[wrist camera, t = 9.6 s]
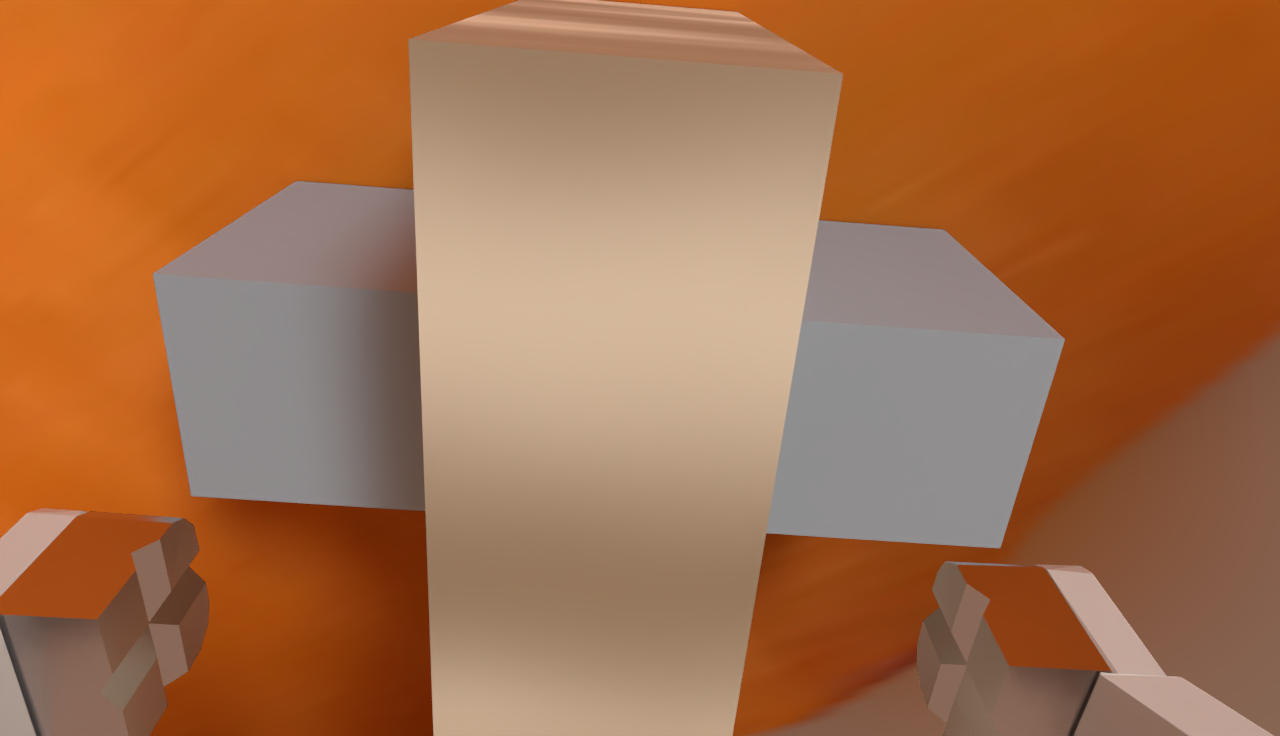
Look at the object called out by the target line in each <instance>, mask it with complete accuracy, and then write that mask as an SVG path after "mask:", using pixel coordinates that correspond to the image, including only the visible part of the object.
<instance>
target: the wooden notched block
mask: <svg viewBox="0 0 1280 736" xmlns="http://www.w3.org/2000/svg"><path fill="white" fill-rule="evenodd" d="M408 41H409V69H410V96H411V124H412V152H413V180H414V208H415V235H416V263H417V291H418V319H419V347H420V374H421V402H422V430H423V458H424V486H425V514H426V541H427V569H428V597H429V625H430V653H431V680H432V708H433V736H732V734H733V728H734V722H735V716H736V710H737V704H738V698H739V692H740V687H741V681H742V675H743V669H744V663H745V657H746V651H747V645H748V639H749V633H750V627H751V621H752V615H753V609H754V603H755V597H756V591H757V585H758V579H759V573H760V567H761V561H762V555H763V549H764V543H765V537H766V531H767V526H768V520H769V514H770V508H771V502H772V496H773V490H774V484H775V478H776V472H777V466H778V460H779V454H780V448H781V442H782V436H783V430H784V424H785V418H786V412H787V406H788V400H789V394H790V388H791V382H792V376H793V371H794V365H795V359H796V353H797V347H798V341H799V335H800V329H801V323H802V317H803V311H804V305H805V299H806V293H807V287H808V281H809V275H810V269H811V263H812V257H813V251H814V245H815V239H816V233H817V227H818V221H819V216H820V210H821V204H822V198H823V192H824V186H825V180H826V174H827V168H828V162H829V156H830V150H831V144H832V138H833V132H834V126H835V120H836V114H837V108H838V102H839V96H840V90H841V84H842V78H843V74H842V73H840V72H839V71H837V70H835V69H834V68H832V67H830V66H828V65H827V64H825V63H823V62H822V61H820V60H818V59H817V58H815V57H813V56H811V55H810V54H808V53H806V52H805V51H803V50H801V49H800V48H798V47H796V46H794V45H793V44H791V43H789V42H788V41H786V40H784V39H782V38H781V37H779V36H777V35H776V34H774V33H772V32H771V31H769V30H767V29H765V28H764V27H762V26H760V25H759V24H757V23H755V22H754V21H752V20H750V19H748V18H747V17H745V16H743V15H742V14H740V13H738V12H732V11H720V10H708V9H696V8H683V7H671V6H659V5H647V4H635V3H623V2H610V1H598V0H518V1H515V2H513V3H510V4H507V5H504V6H501V7H498V8H496V9H493V10H490V11H487V12H484V13H481V14H479V15H476V16H473V17H470V18H467V19H464V20H462V21H459V22H456V23H453V24H450V25H447V26H445V27H442V28H439V29H436V30H433V31H430V32H428V33H425V34H422V35H419V36H416V37H413V38H410V39H408Z"/></svg>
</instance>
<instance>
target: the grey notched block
mask: <svg viewBox="0 0 1280 736" xmlns="http://www.w3.org/2000/svg"><path fill="white" fill-rule="evenodd" d="M153 278H154V284H155V289H156V295H157V301H158V307H159V313H160V318H161V324H162V330H163V336H164V341H165V347H166V353H167V359H168V365H169V370H170V376H171V382H172V388H173V394H174V399H175V405H176V411H177V417H178V423H179V428H180V434H181V440H182V446H183V451H184V457H185V463H186V469H187V475H188V480H189V486H190V492H191V496H197V497H212V498H228V499H243V500H259V501H274V502H290V503H305V504H321V505H336V506H352V507H367V508H383V509H398V510H414V511H425V486H424V458H423V430H422V402H421V374H420V347H419V319H418V291H417V263H416V235H415V208H414V190H409V189H396V188H383V187H370V186H356V185H343V184H330V183H317V182H303V181H295V182H294V183H292V184H291V185H289V186H288V187H286V188H285V189H283V190H282V191H280V192H278V193H277V194H275V195H274V196H272V197H271V198H269V199H268V200H266V201H265V202H263V203H261V204H260V205H258V206H257V207H255V208H254V209H252V210H251V211H249V212H248V213H246V214H244V215H243V216H241V217H240V218H238V219H237V220H235V221H234V222H232V223H231V224H229V225H227V226H226V227H224V228H223V229H221V230H220V231H218V232H217V233H215V234H214V235H212V236H210V237H209V238H207V239H206V240H204V241H203V242H201V243H200V244H198V245H197V246H195V247H193V248H192V249H190V250H189V251H187V252H186V253H184V254H183V255H181V256H180V257H178V258H176V259H175V260H173V261H172V262H170V263H169V264H167V265H166V266H164V267H163V268H161V269H159V270H158V271H156V272H155V273H153ZM1064 341H1065V339H1064V338H1063V337H1062V336H1061V335H1060V334H1059V333H1057V332H1056V331H1055V330H1054V329H1053V328H1052V327H1051V326H1050V325H1049V324H1048V323H1046V322H1045V321H1044V320H1043V319H1042V318H1041V317H1040V316H1039V315H1038V314H1036V313H1035V312H1034V311H1033V310H1032V309H1031V308H1030V307H1029V306H1028V305H1027V304H1025V303H1024V302H1023V301H1022V300H1021V299H1020V298H1019V297H1018V296H1017V295H1016V294H1014V293H1013V292H1012V291H1011V290H1010V289H1009V288H1008V287H1007V286H1006V285H1005V284H1003V283H1002V282H1001V281H1000V280H999V279H998V278H997V277H996V276H995V275H993V274H992V273H991V272H990V271H989V270H988V269H987V268H986V267H985V266H984V265H982V264H981V263H980V262H979V261H978V260H977V259H976V258H975V257H974V256H973V255H971V254H970V253H969V252H968V251H967V250H966V249H965V248H964V247H963V246H961V245H960V244H959V243H958V242H957V241H956V240H955V239H954V238H953V237H952V236H950V235H949V234H948V233H947V232H946V231H945V230H940V229H927V228H914V227H901V226H887V225H874V224H861V223H847V222H834V221H821V220H819V221H818V227H817V233H816V239H815V245H814V251H813V257H812V263H811V269H810V275H809V281H808V287H807V293H806V299H805V305H804V311H803V317H802V323H801V329H800V335H799V341H798V347H797V353H796V359H795V365H794V371H793V376H792V382H791V388H790V394H789V400H788V406H787V412H786V418H785V424H784V430H783V436H782V442H781V448H780V454H779V460H778V466H777V472H776V478H775V484H774V490H773V496H772V502H771V508H770V514H769V520H768V526H767V531H766V533H771V534H786V535H802V536H817V537H833V538H848V539H864V540H879V541H895V542H910V543H926V544H941V545H957V546H972V547H988V548H1000V547H1001V544H1002V541H1003V537H1004V534H1005V531H1006V528H1007V524H1008V521H1009V518H1010V515H1011V512H1012V508H1013V505H1014V502H1015V499H1016V495H1017V492H1018V489H1019V486H1020V483H1021V479H1022V476H1023V473H1024V470H1025V467H1026V463H1027V460H1028V457H1029V454H1030V450H1031V447H1032V444H1033V441H1034V438H1035V434H1036V431H1037V428H1038V425H1039V421H1040V418H1041V415H1042V412H1043V409H1044V405H1045V402H1046V399H1047V396H1048V393H1049V389H1050V386H1051V383H1052V380H1053V376H1054V373H1055V370H1056V367H1057V364H1058V360H1059V357H1060V354H1061V351H1062V347H1063V344H1064Z"/></svg>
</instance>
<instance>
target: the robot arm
mask: <svg viewBox="0 0 1280 736" xmlns="http://www.w3.org/2000/svg"><path fill="white" fill-rule="evenodd" d="M198 552H199V545H198V541H197V537H196V533H195V529H194V525H193V524H191V523H190V522H188V521H187V520H185V519H184V518H174V517H161V516H148V515H136V514H123V513H110V512H97V511H90V512H85V511H77V510H62V509H48V508H42V509H39V510H35V511H32V512H28V513H27V514H26V515H24V516H23V517H22V518H21V519H20V520H19V521H18V522H17V523H16V524H15V525H14V526H13V527H12V528H11V529H10V530H9V531H8V532H7V533H6V534H4V535H3V536H2V537H1V538H0V736H150V734H151V732H152V731H153V729H154V727H155V726H156V724H157V722H158V721H159V719H160V717H161V716H162V714H163V713H164V711H165V709H166V708H167V706H168V704H167V700H166V695H165V691H164V686H166V685H168V684H169V683H171V682H172V681H174V680H175V679H177V678H179V677H180V676H182V675H183V674H185V673H186V672H188V671H189V669H190V667H191V666H192V664H193V662H194V660H195V659H196V657H197V655H198V653H199V651H200V650H201V646H202V643H203V639H204V636H205V632H206V629H207V625H208V617H209V598H208V592H207V586H206V583H205V582H204V581H203V580H202V579H201V578H200V577H199V576H198V575H197V574H196V573H195V572H194V571H193V570H192V569H191V568H190V567H189V565H190V563H191V562H192V560H193V559H194V557H195V556H196V554H197V553H198ZM932 590H933V593H934V595H935V597H936V599H937V602H938V604H939V606H940V608H938V609H937V610H936V611H935V612H934V613H932V614H931V615H930V616H929V617H927V618H926V619H925V620H924V621H923V624H922V628H921V632H920V636H919V640H918V644H917V671H918V676H919V681H920V686H921V690H922V693H923V696H924V698H925V701H926V704H927V707H928V708H929V709H930V710H931V711H932V712H934V713H935V714H936V715H937V716H938V717H939V718H940V719H942V720H943V721H944V722H945V723H946V727H945V730H944V734H943V736H1273V735H1272V734H1270V733H1268V732H1267V731H1265V730H1264V729H1262V728H1261V727H1259V726H1257V725H1256V724H1254V723H1252V722H1251V721H1250V720H1248V719H1246V718H1245V717H1243V716H1242V715H1240V714H1238V713H1237V712H1235V711H1234V710H1232V709H1231V708H1229V707H1227V706H1226V705H1224V704H1223V703H1221V702H1219V701H1218V700H1217V699H1215V698H1213V697H1212V696H1210V695H1209V694H1207V693H1206V692H1204V691H1202V690H1201V689H1199V688H1198V687H1196V686H1194V685H1193V684H1191V683H1190V682H1188V681H1187V680H1185V679H1183V678H1182V677H1172V676H1166V675H1165V673H1164V672H1163V671H1162V669H1161V668H1160V666H1159V665H1158V664H1157V662H1156V661H1155V660H1154V658H1153V657H1152V656H1151V654H1150V653H1149V651H1148V650H1147V648H1146V647H1145V646H1144V644H1143V643H1142V642H1141V640H1140V639H1139V637H1138V636H1137V635H1136V633H1135V632H1134V630H1133V629H1132V628H1131V626H1130V625H1129V623H1128V622H1127V621H1126V619H1125V618H1124V617H1123V615H1122V614H1121V612H1120V611H1119V610H1118V608H1117V607H1116V605H1115V604H1114V603H1113V601H1112V600H1111V599H1110V597H1109V596H1108V594H1107V593H1106V592H1105V590H1104V589H1103V588H1102V586H1101V585H1100V583H1099V582H1098V581H1097V579H1096V578H1095V576H1094V575H1093V574H1092V573H1091V572H1090V571H1088V570H1087V569H1085V568H1083V567H1081V566H1064V565H1035V566H1025V565H1005V564H986V563H966V562H947V561H945V563H944V564H943V565H942V567H941V568H940V570H939V571H938V573H937V576H936V580H935V583H934V586H933V589H932Z"/></svg>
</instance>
